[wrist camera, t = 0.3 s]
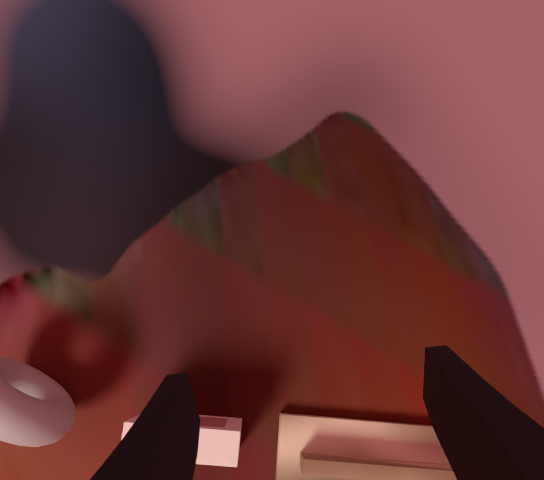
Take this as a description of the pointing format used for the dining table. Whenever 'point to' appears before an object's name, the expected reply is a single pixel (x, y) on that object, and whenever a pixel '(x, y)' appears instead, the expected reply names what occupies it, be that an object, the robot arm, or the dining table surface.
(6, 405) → the donut
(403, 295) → the dining table surface
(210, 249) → the dining table surface
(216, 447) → the pale pink flat block
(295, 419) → the notched stand
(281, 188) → the dining table surface
